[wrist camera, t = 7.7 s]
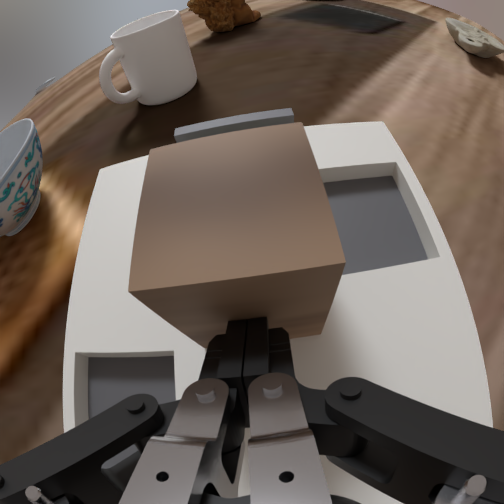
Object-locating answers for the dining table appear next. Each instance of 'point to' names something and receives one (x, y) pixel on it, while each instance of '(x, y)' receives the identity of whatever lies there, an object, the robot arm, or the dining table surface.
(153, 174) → the block
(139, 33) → the mug
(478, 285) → the dining table surface
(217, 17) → the stuffed squirrel
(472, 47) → the oil lamp
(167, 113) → the dining table surface
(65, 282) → the dining table surface
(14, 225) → the chinaware
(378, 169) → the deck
